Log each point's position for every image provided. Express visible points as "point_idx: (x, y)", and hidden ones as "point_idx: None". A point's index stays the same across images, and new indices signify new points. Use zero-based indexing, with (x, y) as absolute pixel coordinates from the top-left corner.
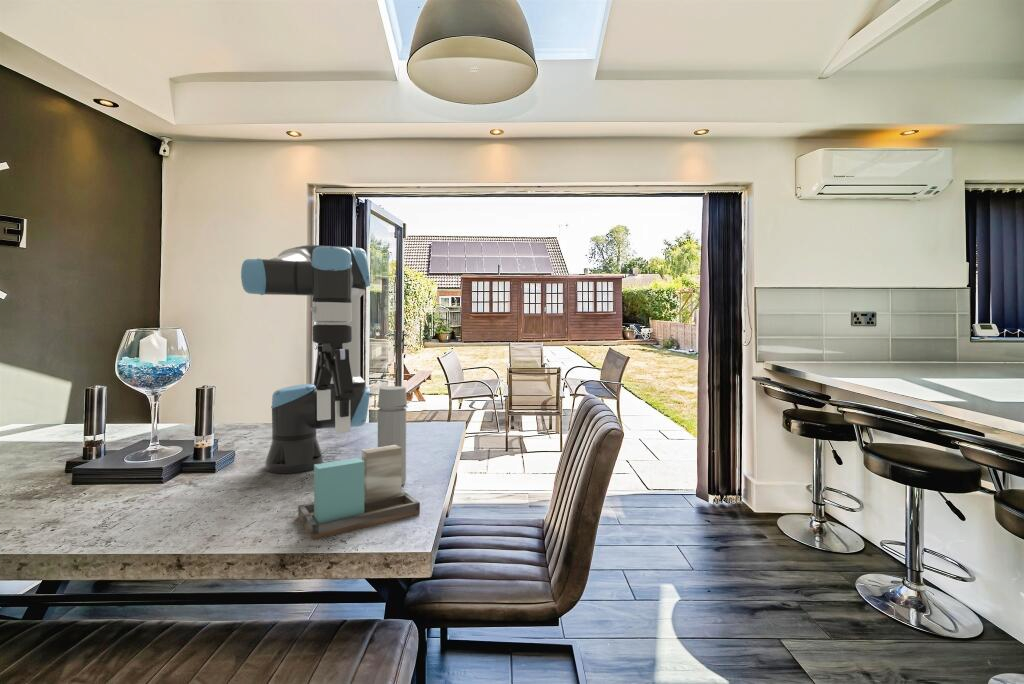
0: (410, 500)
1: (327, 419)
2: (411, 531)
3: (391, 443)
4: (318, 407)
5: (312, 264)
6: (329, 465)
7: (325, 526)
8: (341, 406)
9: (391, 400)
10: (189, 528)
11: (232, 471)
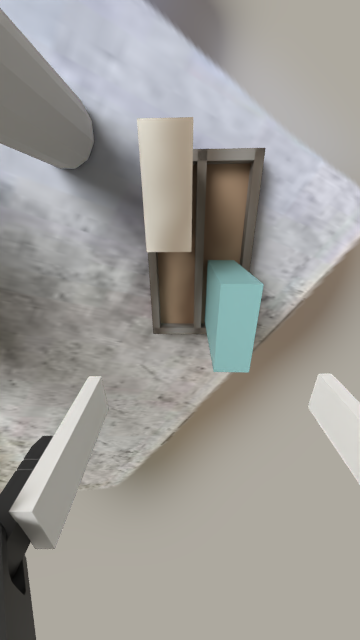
0: (238, 160)
1: (102, 385)
2: (309, 203)
3: (27, 93)
4: (91, 451)
5: None
6: (240, 351)
7: None
8: None
9: None
10: (128, 411)
11: None
